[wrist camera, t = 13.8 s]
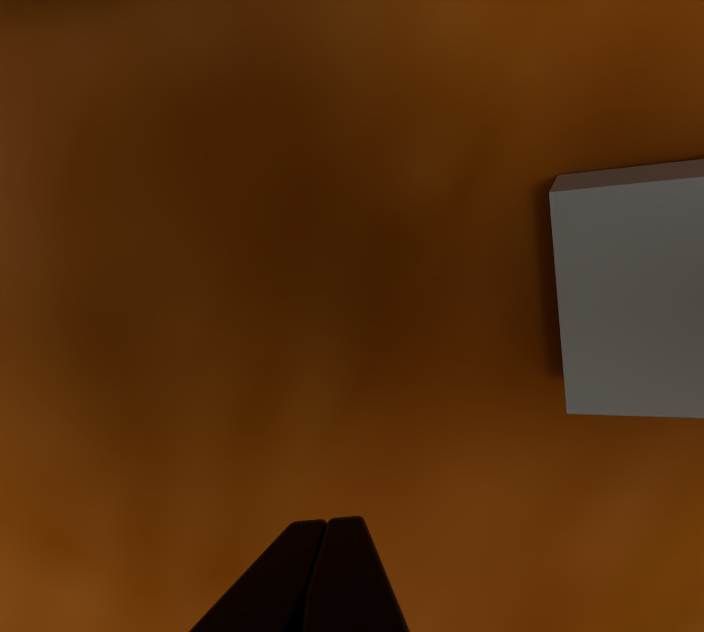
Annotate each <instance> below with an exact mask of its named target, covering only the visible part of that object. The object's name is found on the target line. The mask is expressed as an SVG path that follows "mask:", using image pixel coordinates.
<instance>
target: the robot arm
mask: <svg viewBox="0 0 704 632" xmlns="http://www.w3.org/2000/svg"><path fill="white" fill-rule="evenodd" d="M189 632H410V631H409V628H408V626H407V623H406V621H405V618H404V616H403V614H402V611H401V609H400V606H399V604H398V601H397V599H396V596H395V594H394V592H393V589H392V587H391V584H390V582H389V579H388V577H387V574H386V572H385V569H384V567H383V565H382V562H381V560H380V557H379V555H378V552H377V550H376V547H375V545H374V543H373V540H372V538H371V535H370V533H369V530H368V528H367V525H366V523H365V521H364V519H363V518H362V517H360V516H351V517H340V518H332V519H330V520H329V521H328V523H327V522H326V521H325V520H323V519H317V520H306V521H296V522H293V523H291V524H290V525H289V526H288V527H287V528H286V529H285V530H284V531H283V532H282V533H281V534H280V535H279V536H278V537H277V538H276V539H275V541H274V542H273V543H272V544H271V545H270V546H269V547H268V548H267V549H266V550H265V551H264V552H263V553H262V554H261V555H260V557H259V558H258V559H257V560H256V561H255V562H254V563H253V564H252V565H251V566H250V567H249V568H248V569H247V570H246V571H245V573H244V574H243V575H242V576H241V577H240V578H239V579H238V580H237V581H236V582H235V583H234V584H233V585H232V586H231V587H230V588H229V590H228V591H227V592H226V593H225V594H224V595H223V596H222V597H221V598H220V599H219V600H218V601H217V602H216V603H215V604H214V606H213V607H212V608H211V609H210V610H209V611H208V612H207V613H206V614H205V615H204V616H203V617H202V618H201V619H200V620H199V622H198V623H197V624H196V625H195V626H194V627H193V628H192V629H191V630H190V631H189Z"/></svg>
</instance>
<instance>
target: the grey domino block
mask: <svg viewBox="0 0 704 632" xmlns="http://www.w3.org/2000/svg"><path fill="white" fill-rule="evenodd" d="M549 199H550V212H551V224H552V236H553V249H554V261H555V274H556V286H557V298H558V311H559V323H560V336H561V348H562V361H563V373H564V385H565V398H566V410H567V414H588V415H619V416H650V417H682V418H704V159H698V160H689V161H680V162H671V163H662V164H653V165H644V166H635V167H626V168H616V169H607V170H598V171H589V172H580V173H571V174H562V175H558V176H557V178H556V180H555V182H554V183H553V185H552V187H551V189H550V191H549Z"/></svg>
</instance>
